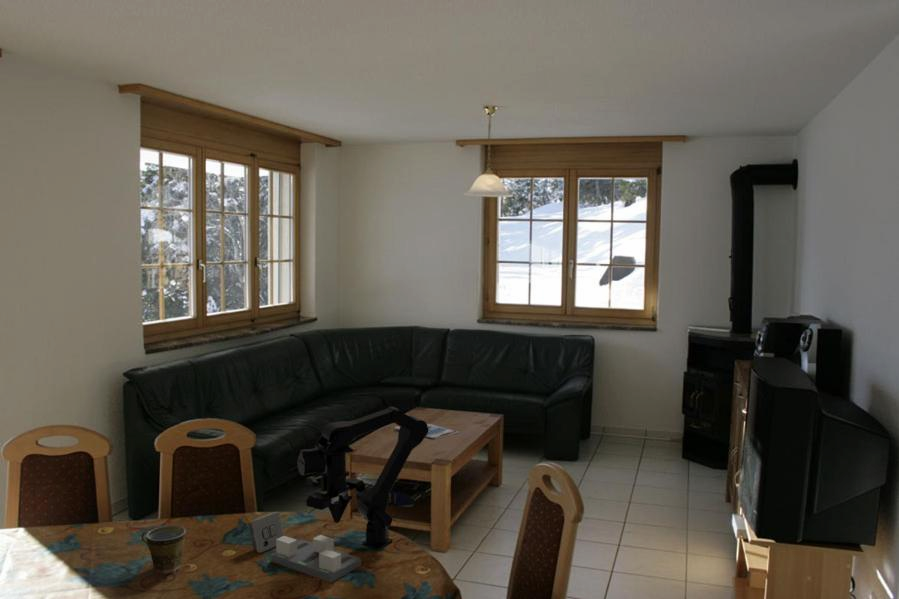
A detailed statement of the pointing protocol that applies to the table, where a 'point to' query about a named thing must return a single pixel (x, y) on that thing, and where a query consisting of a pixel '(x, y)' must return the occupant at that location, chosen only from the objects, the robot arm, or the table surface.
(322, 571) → the breaker panel
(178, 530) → the ceramic cup
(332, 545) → the handle
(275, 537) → the electrical switch
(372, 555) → the table surface
